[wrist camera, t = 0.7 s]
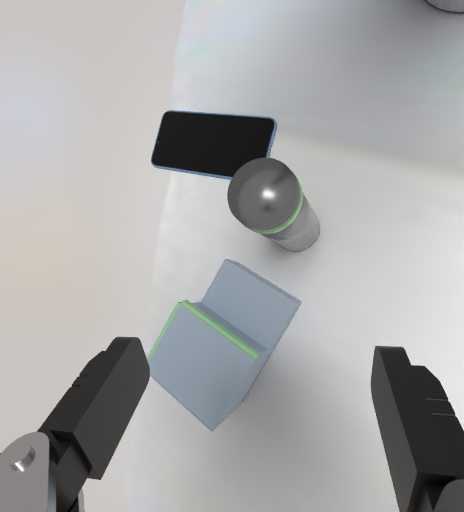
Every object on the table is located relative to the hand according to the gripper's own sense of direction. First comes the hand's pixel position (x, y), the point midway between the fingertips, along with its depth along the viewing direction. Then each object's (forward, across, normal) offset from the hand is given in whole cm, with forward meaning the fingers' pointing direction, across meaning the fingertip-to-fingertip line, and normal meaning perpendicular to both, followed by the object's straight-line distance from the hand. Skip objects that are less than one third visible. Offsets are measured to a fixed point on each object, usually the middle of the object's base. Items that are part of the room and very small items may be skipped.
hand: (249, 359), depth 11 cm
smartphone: (+30, +8, -3) cm, 31 cm away
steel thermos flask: (+22, -2, +5) cm, 22 cm away
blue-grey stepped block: (+17, +5, +14) cm, 22 cm away
